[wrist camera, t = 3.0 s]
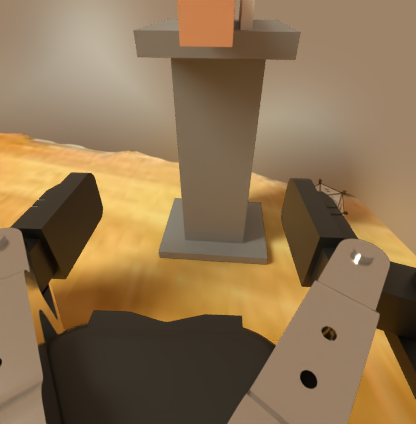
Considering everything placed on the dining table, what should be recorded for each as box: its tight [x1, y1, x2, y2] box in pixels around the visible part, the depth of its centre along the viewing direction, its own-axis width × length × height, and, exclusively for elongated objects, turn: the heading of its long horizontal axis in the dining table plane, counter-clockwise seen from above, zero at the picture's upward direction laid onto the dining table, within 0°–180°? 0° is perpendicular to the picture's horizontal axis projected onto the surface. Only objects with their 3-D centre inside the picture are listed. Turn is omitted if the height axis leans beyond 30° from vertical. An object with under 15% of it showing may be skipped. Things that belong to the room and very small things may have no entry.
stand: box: [134, 0, 301, 264], centre depth 38 cm, size 18×17×34 cm
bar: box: [177, 0, 235, 47], centre depth 22 cm, size 22×3×3 cm, turn 175°
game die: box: [315, 179, 348, 215], centre depth 49 cm, size 9×8×10 cm
